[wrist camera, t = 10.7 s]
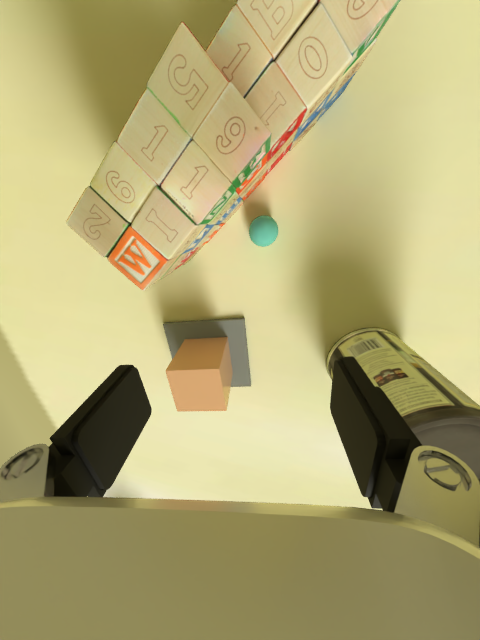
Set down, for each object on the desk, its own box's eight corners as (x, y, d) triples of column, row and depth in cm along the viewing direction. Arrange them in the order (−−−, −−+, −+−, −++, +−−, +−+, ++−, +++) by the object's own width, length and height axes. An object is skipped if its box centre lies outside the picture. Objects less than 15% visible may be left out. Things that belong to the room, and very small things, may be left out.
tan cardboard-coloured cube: (184, 339, 30) (165, 370, 24) (227, 337, 30) (219, 368, 23) (193, 374, 33) (177, 411, 26) (232, 372, 32) (226, 410, 26)
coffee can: (363, 400, 33) (429, 514, 20) (310, 366, 31) (346, 467, 19) (423, 354, 29) (552, 459, 16) (367, 312, 27) (462, 393, 15)
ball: (274, 232, 21) (263, 256, 23) (287, 221, 22) (276, 244, 25) (248, 215, 21) (240, 241, 24) (263, 205, 23) (254, 230, 25)
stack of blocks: (299, 20, 18) (368, -315, 7) (344, 92, 19) (461, -82, 8) (148, 221, 25) (60, 223, 14) (190, 262, 27) (140, 293, 15)
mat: (164, 322, 30) (163, 324, 30) (244, 317, 29) (244, 319, 28) (181, 385, 35) (180, 388, 34) (250, 384, 33) (250, 386, 33)
